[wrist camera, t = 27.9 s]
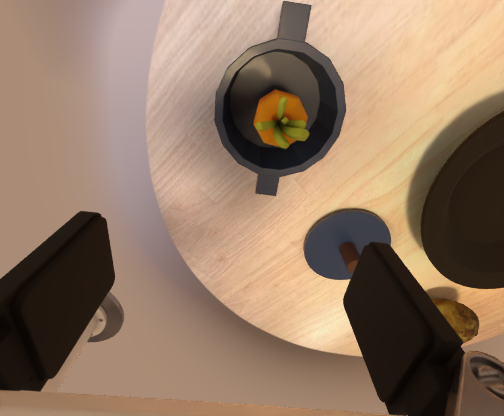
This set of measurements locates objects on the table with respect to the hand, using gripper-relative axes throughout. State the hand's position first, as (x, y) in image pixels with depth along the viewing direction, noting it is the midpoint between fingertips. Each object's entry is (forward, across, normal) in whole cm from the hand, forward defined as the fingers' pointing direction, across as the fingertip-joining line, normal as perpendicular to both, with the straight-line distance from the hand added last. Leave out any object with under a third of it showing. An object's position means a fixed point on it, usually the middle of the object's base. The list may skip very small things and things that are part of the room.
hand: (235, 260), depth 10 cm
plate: (+28, -36, +6) cm, 46 cm away
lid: (+28, -18, +18) cm, 37 cm away
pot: (+28, -3, -2) cm, 28 cm away
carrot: (+28, -3, -2) cm, 28 cm away
